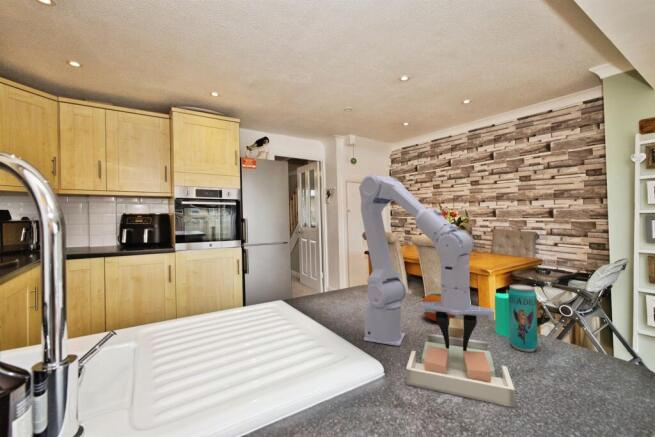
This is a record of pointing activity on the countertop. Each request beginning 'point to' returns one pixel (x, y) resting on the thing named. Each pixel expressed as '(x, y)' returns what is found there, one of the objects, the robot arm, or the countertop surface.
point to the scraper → (457, 336)
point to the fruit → (434, 298)
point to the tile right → (476, 366)
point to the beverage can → (523, 317)
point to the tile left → (436, 360)
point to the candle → (502, 314)
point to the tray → (462, 383)
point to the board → (458, 356)
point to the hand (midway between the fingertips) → (456, 348)
